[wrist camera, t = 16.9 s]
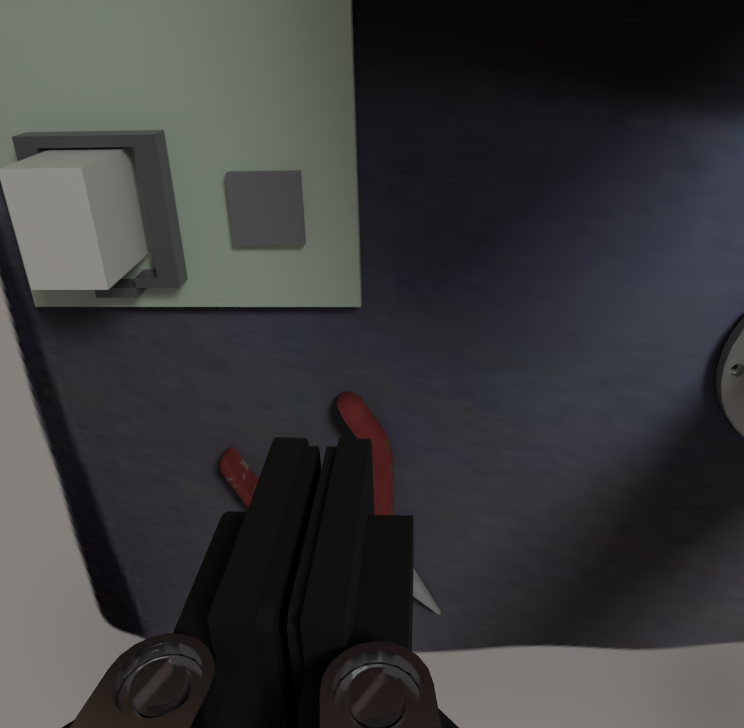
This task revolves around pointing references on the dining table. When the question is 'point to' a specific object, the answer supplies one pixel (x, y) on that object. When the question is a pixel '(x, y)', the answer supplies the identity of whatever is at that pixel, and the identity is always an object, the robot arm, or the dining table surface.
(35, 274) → the plug
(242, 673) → the robot arm
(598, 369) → the dining table surface
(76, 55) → the board
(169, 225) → the frame
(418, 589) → the pliers
